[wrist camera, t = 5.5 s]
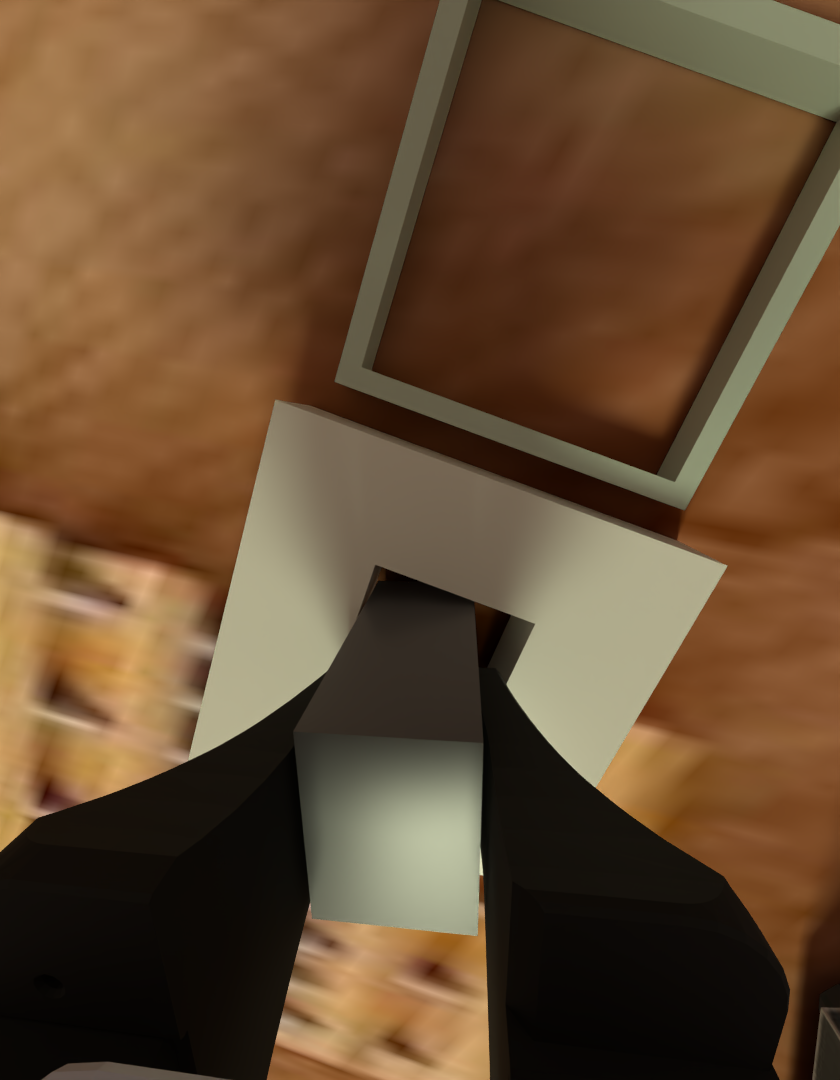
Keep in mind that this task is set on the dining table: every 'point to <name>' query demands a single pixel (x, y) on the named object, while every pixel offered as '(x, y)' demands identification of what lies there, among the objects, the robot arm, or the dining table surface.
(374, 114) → the dining table surface
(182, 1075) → the robot arm
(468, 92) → the dining table surface
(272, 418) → the socket
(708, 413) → the pale green square frame
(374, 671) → the plug
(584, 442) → the dining table surface
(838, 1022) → the voltmeter
